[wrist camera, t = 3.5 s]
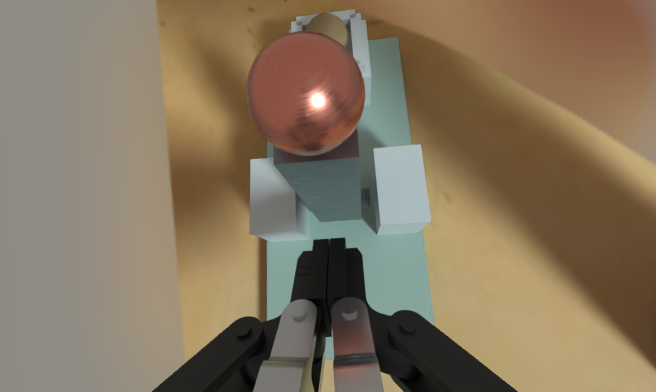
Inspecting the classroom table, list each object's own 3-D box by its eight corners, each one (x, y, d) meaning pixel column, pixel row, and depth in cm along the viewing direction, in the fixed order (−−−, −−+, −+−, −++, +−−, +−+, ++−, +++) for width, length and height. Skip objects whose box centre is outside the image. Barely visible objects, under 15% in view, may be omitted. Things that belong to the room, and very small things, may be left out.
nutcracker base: (395, 52, 30) (405, -14, 23) (432, 349, 23) (460, 379, 17) (272, 66, 31) (247, 8, 24) (274, 354, 24) (240, 384, 18)
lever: (367, 176, 24) (375, -12, 8) (371, 223, 23) (389, 113, 7) (309, 181, 24) (213, 11, 9) (311, 227, 23) (207, 131, 8)
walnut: (347, 32, 24) (344, -1, 21) (349, 66, 23) (347, 36, 20) (308, 37, 24) (300, 5, 21) (309, 71, 23) (301, 42, 20)
